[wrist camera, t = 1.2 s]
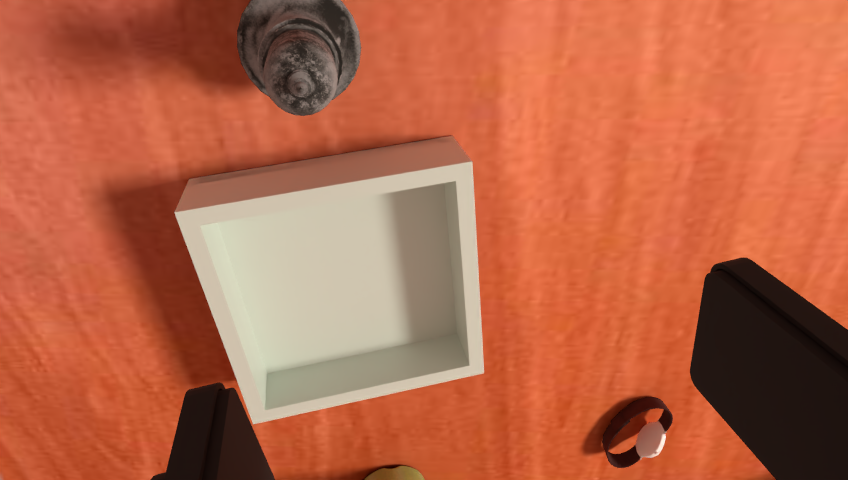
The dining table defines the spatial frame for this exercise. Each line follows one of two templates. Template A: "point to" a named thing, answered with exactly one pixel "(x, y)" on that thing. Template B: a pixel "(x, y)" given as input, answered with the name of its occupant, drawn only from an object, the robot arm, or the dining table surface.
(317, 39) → the salt shaker
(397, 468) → the plant pot
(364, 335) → the tray
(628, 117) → the dining table surface
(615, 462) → the watch
